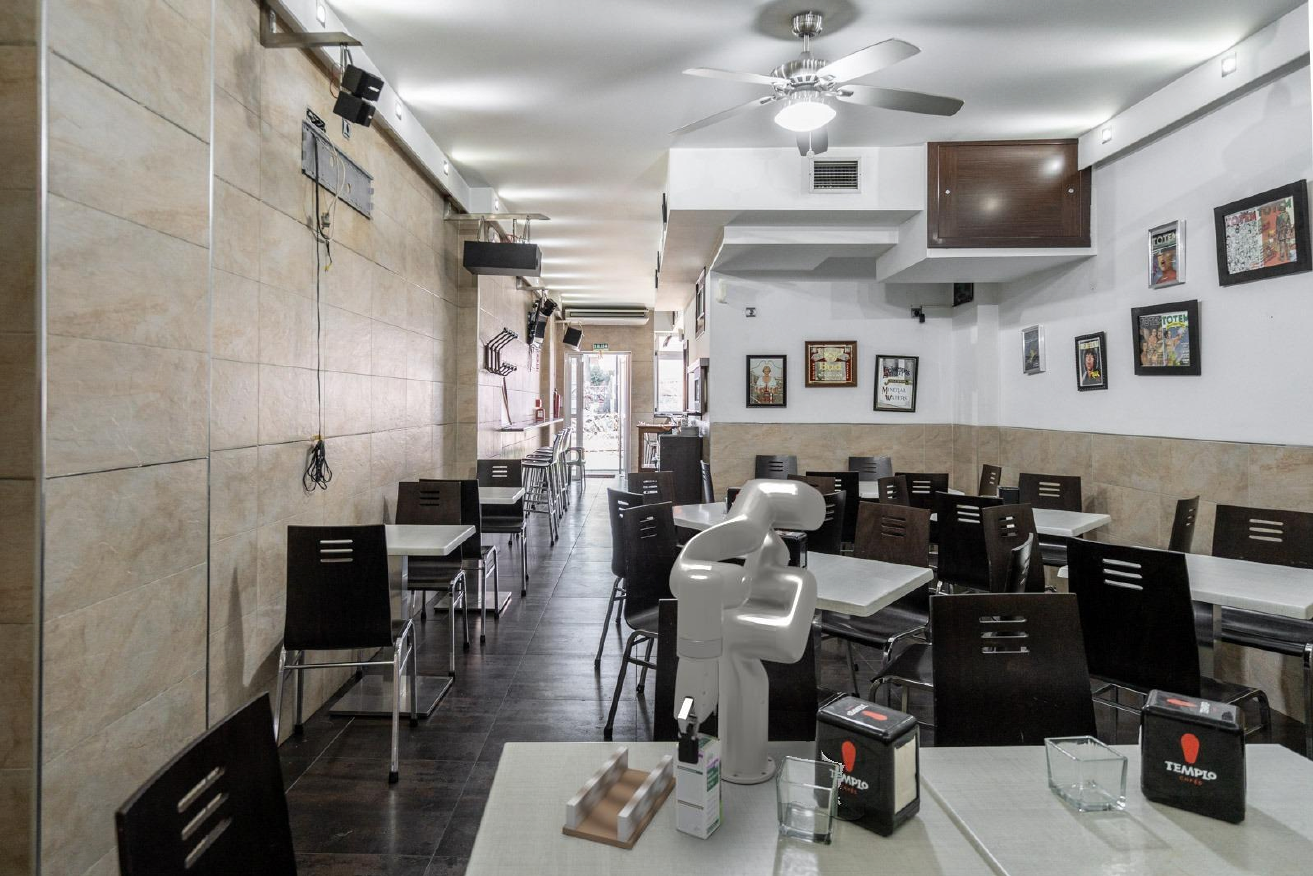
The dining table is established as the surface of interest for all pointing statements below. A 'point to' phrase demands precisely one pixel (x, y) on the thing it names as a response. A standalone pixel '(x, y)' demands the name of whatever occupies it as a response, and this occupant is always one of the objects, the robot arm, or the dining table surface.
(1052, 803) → the dining table surface
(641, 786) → the track
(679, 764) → the syrup box
